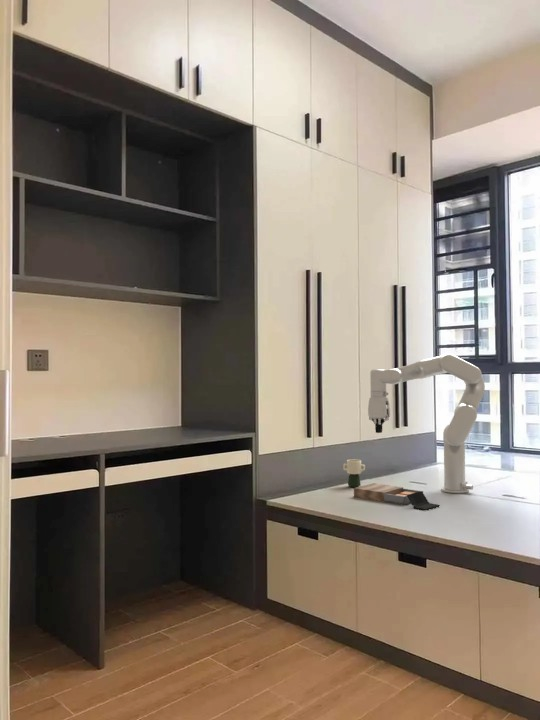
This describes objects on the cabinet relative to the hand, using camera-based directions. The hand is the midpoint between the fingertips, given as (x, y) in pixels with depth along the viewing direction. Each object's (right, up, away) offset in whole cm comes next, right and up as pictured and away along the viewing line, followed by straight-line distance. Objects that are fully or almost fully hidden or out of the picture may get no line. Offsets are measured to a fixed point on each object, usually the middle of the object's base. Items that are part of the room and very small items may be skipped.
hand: (378, 432), depth 300 cm
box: (+6, -27, -28) cm, 39 cm away
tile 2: (+8, -24, -25) cm, 36 cm away
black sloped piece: (+11, -27, -41) cm, 50 cm away
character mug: (-11, -28, +5) cm, 30 cm away
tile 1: (+3, -24, -31) cm, 39 cm away
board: (-3, -27, -19) cm, 33 cm away
